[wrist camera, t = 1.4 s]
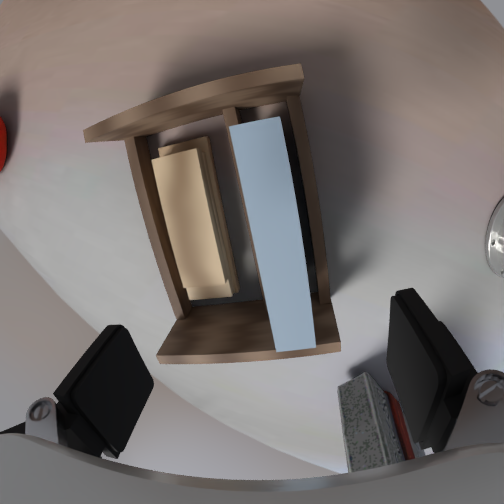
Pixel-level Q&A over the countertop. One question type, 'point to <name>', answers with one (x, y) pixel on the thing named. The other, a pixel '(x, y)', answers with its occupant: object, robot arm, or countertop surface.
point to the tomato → (2, 143)
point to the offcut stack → (196, 219)
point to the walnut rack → (248, 312)
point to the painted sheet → (275, 230)
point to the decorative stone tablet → (373, 426)
